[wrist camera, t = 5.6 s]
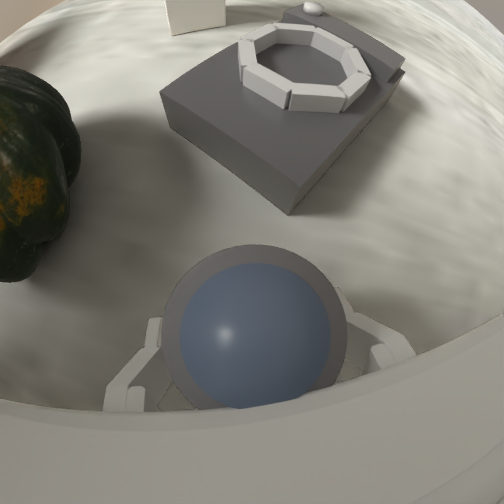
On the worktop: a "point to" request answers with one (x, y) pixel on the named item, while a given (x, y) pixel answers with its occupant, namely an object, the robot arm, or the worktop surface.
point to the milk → (194, 15)
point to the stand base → (284, 100)
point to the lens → (253, 329)
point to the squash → (33, 169)
